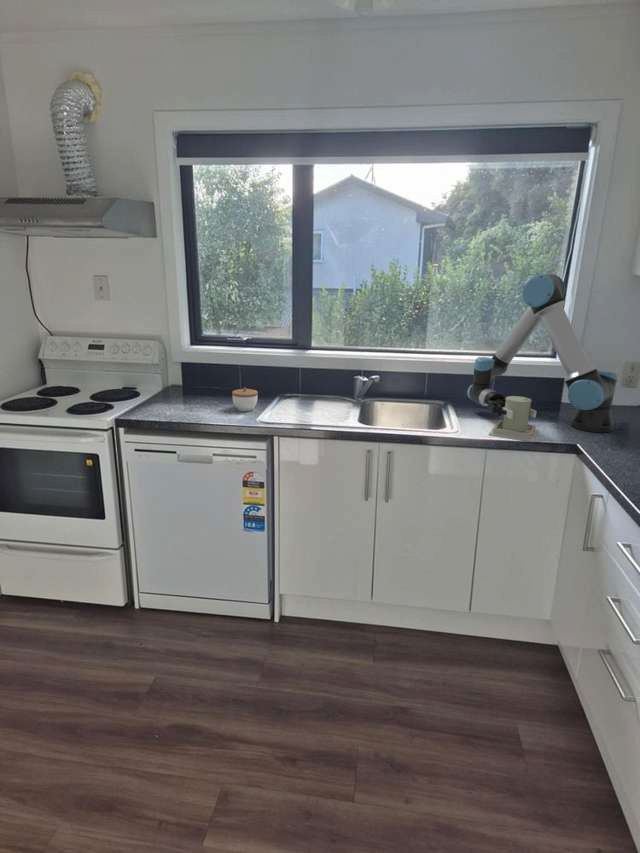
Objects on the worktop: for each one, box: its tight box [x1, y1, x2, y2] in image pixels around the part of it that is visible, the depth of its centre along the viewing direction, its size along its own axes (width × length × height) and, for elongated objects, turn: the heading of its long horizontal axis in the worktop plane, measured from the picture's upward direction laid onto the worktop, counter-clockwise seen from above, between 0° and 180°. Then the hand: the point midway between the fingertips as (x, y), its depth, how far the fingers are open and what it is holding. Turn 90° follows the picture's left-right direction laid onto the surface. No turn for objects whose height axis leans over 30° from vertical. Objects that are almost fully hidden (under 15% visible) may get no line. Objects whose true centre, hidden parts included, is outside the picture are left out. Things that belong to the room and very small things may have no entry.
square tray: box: [488, 419, 540, 443], centre depth 206 cm, size 16×16×2 cm
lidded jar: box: [231, 387, 259, 412], centre depth 228 cm, size 11×11×9 cm
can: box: [502, 395, 532, 432], centre depth 204 cm, size 9×9×12 cm
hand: (523, 415), depth 199 cm, fingers closed on can, 9 cm apart
